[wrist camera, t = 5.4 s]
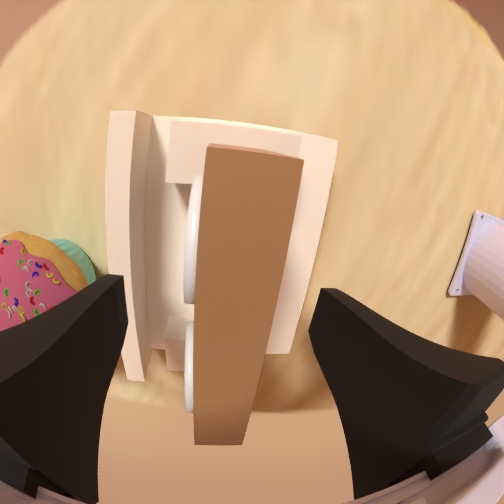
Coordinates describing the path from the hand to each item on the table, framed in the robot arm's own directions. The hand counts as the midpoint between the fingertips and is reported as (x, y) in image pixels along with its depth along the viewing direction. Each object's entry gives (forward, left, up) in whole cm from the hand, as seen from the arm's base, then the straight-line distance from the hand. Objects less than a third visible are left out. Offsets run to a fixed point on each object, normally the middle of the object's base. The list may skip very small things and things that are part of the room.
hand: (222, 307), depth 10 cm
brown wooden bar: (0, 0, -2) cm, 2 cm away
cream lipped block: (0, 0, -6) cm, 6 cm away
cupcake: (+10, +3, -7) cm, 12 cm away
